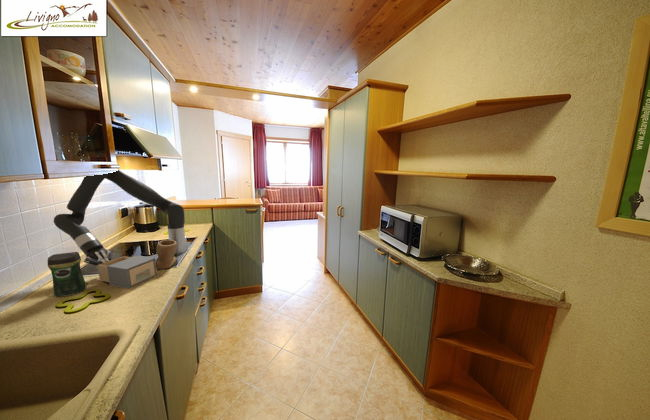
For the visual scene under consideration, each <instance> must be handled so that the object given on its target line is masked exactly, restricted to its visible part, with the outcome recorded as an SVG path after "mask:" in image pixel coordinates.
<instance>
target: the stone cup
mask: <svg viewBox="0 0 650 420" xmlns="http://www.w3.org/2000/svg"><path fill="white" fill-rule="evenodd" d="M176 248H177V243H176V242H175V241H173V240H169V239H162V240H160V241H158V243H157V245H156V254H157V256H158V259H157V260H156V261H155V262H156V270H163V269H169V268H171V267H173V265H174V264H175V263H176V261H177V259H178V257H177V256H175V255H176V254H175V251H176Z"/></svg>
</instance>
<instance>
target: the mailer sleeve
mask: <svg viewBox="0 0 650 420" xmlns="http://www.w3.org/2000/svg"><path fill="white" fill-rule="evenodd" d="M130 257H131V256H130ZM152 260H153V261H154V269H155V275H154V276H152V277H149V278H147V279H145V280H143V281H141V282H139V283H137V284H134V285H132V286H130V279H129V272H128V270H129V269H131V268H134V267H136V266H139V265H142V264H144V263H147V262H149V261H152ZM156 262H157V261H156V257H152V256H143V255H134V256H132V257H131V258H128V259H126V260H123V261H120V262H117V263H114V264H112V265H109V266H107V269H108V276H109V282H108V283H109V286H110V287H117V288H122V289H127V290H130V289H133V288H134V287H137V286H139V285H141V284H143V283H145V282H148V281H149V280H151V279H153V278H155V276H156V277H157V276H158V274H157V273H158V272H157V270H158V269H156Z"/></svg>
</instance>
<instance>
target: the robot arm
mask: <svg viewBox="0 0 650 420" xmlns="http://www.w3.org/2000/svg"><path fill="white" fill-rule="evenodd" d="M105 179H106V180H108V181H109V182H111V183H113V184H115V185H116V186H118V187H119V188H120V189H121V190H123V191H124V192H125V193H126V194H128V195H129V196H132V197H134V198H135V199H137V200H139V201H141V202H143V203H145V204H148V205H151V206H153V207H155V208H157V209H158V210H160V211H161V212H163V213H164V214H165V215H166V216H167V221H168V223H167V234H168V240H173V241H175V242H176V243H177V248H176V251H175V254H174V255H179V254H183V253H186V252H187V251H188V241H187V236H186V234H185V233H186V232H185V223H186V221H185V210H184V207H183V206H182V205H180V204H178V203H176V202H173V201H172V200H169V199H167V198H164V197H163V196H162V195H161V194H160V193H158V192H157V191H156V190H154V189H153V188H152V187H150V186H149V185H147V184H145V183H144V182H142V181H140V180H137V179H136V178H134V177H132V176H130V175H128V174H126V173H124V172H123V171H121V170H120V169H118V171H116V172H113V173H108V174H103V175H94V176H86V177H84V176H83V179H82V181H81V183H80V185H79V186H78V188H76V190H75V191H74V193H72V194H73V195H72V196H71V198H70V200H69V201H68V203H67V205H66V208H67V209H68V211H70V212H72V213H59V214H57V215H55V216H54V218H53V223H54V225H55V227H57V228H58V229H59V230H61V231H62V232H64V233H65V234H66V235H69V236H70V237H71V239H72V240H73V241H74V243H75V245H77V247H78V248H79V249H80V250H81V251H82V252H83V254H84V255H85V256H86V258H84V260H83V263H85V264H89V265H92V266H95V267H97V265H99V264H102V263H105V262H108V261H111V260H113V257H114V253H115V250H113V249H112V250H108V249H107V248H104V245H103V244H102V243H101V242H100V240H99V239H98V238H97V237H96V236H95V235H94V234H92V231H90V230H89V229H88V228H87V227H86V226H84V225H82V224H83V223H84V221H85V215H86V209H87V208H88V206H89V205H90V204H91V201H92V200H93V197H94V195H95V192H96V191H97V189H98V188H99V186H100V185H101V183H103V181H104V180H105Z"/></svg>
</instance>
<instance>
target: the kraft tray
mask: <svg viewBox="0 0 650 420" xmlns="http://www.w3.org/2000/svg"><path fill="white" fill-rule="evenodd" d="M128 258H131V256H121V257H118V258H114V259H111V261H108V262H105V263H102V264H99V265H97V266H96V267H97V271H98V277H99V281H100V282H101V281H102V282H107V283H110V282H109V276H108V269H107V266H109V265H112V264H114V263H117V262H120V261H123V260H126V259H128ZM128 272H129V279H130V286H132V285H134V284H137V283H139V282H141V281H143V280H145V279H147V278H149V277H152V276H154V275H155V269H154V261H153V260H152V261H149V262H147V263H144V264H142V265H139V266H136V267H134V268H131V269H129V270H128Z"/></svg>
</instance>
